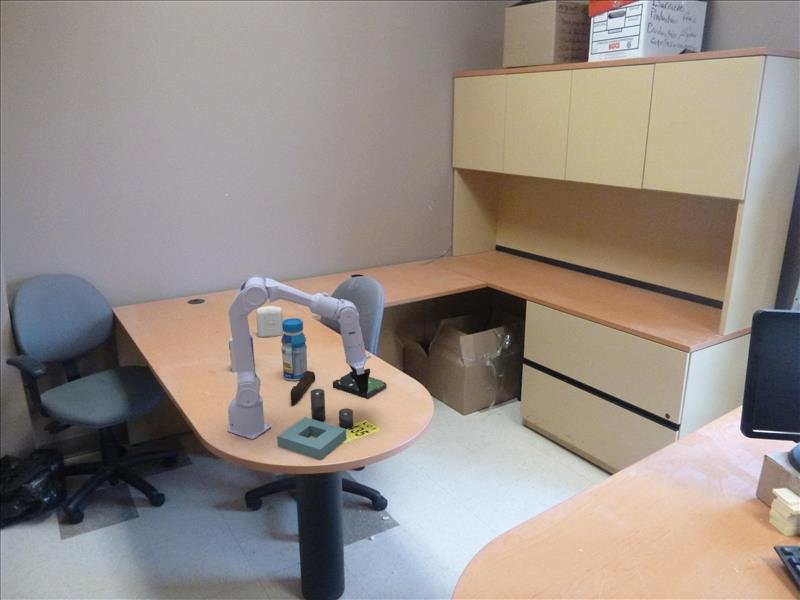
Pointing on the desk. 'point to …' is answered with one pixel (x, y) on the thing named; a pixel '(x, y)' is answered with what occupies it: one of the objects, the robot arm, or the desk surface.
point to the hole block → (316, 448)
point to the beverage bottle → (293, 349)
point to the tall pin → (318, 405)
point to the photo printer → (269, 321)
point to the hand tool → (301, 386)
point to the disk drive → (351, 387)
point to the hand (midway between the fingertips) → (362, 386)
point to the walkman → (232, 355)
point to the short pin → (346, 418)
